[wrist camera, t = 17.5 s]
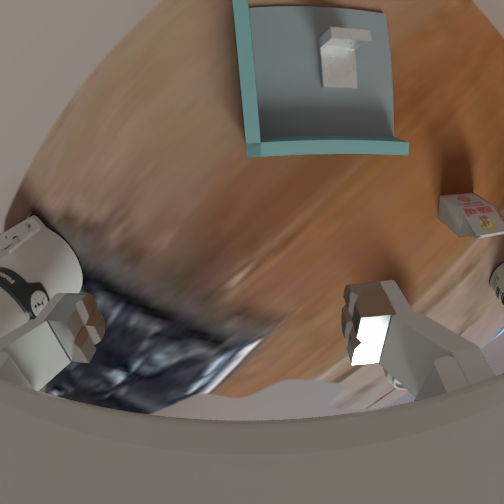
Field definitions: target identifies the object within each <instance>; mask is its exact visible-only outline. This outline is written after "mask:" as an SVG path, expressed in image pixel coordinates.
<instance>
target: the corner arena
mask: <svg viewBox="0 0 504 504" xmlns="http://www.w3.org/2000/svg"><path fill="white" fill-rule="evenodd" d="M233 11H234V21H235V31H236V42H237V52H238V63H239V74H240V84H241V95H242V106H243V117H244V128H245V138H246V149H247V158H249V157H264V156H281V155H304V154H390V155H408V153H409V142H406V141H404V140H401V139H398V138H395V137H394V111H393V83H392V67H391V55H390V45H389V36H388V28H387V20H386V14H383V13H377V12H370V11H362V10H354V9H344V8H332V7H312V6H275V7H256V8H249V5H248V0H233ZM330 27H340V28H352V29H362V30H370V31H371V39H372V41H371V42H369V43H367V44H365V45H363V46H361V47H359V48H357V49H355V59H356V71H357V87H358V88H355V89H353V88H322V86H321V72H320V60H319V49H318V39H319V38H320V37H321V36H322V35H323V34H324V33H325V32H326V31H327V30H328V29H329V28H330Z"/></svg>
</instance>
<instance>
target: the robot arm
mask: <svg viewBox="0 0 504 504" xmlns="http://www.w3.org/2000/svg"><path fill="white" fill-rule="evenodd" d="M82 281H83V277H82V271H81V267H80V264H79V261H78V259H77V257H76V255H75V254H74V252H73V250H72V249H71V247H70V246H69V245H68V244H67V243H66V242H65V240H64V239H62V238H61V237H60V236H59V235H58V234H56V233H55V232H53V231H51V230H50V229H48V228H47V227H46V226H45V225H44V224H43V223H42V221H41V220H40V219H39V218H38V217H37V216H35V215H33V216H31V217H29V218H27V219H25V220H24V221H22V222H20V223H18V224H17V225H15V226H13V227H11V228H10V229H8V230H6V231H5V232H3V233H1V234H0V504H504V373H503V374H500V375H498V376H495V374H494V372H493V370H492V369H491V367H490V365H489V364H488V362H487V360H486V358H485V356H484V355H483V353H482V351H481V350H480V348H479V347H478V346H477V345H475V344H473V343H472V342H470V341H468V340H466V339H465V338H463V337H461V336H460V335H458V334H456V333H454V332H453V331H451V330H449V329H447V328H446V327H444V326H442V325H441V324H439V323H437V322H435V321H434V320H432V319H430V318H428V317H427V316H425V315H423V314H421V313H419V312H413V310H412V308H411V307H410V305H409V303H408V302H407V300H406V298H405V297H404V295H403V293H402V292H401V290H400V288H399V287H398V285H397V284H396V282H395V281H394V280H386V281H378V282H372V283H362V284H351V285H346V286H345V290H344V299H345V302H346V305H345V306H344V307H343V308H342V317H341V318H342V331H343V335H344V338H345V339H346V340H348V347H347V350H348V353H349V357H350V361H351V364H352V365H357V364H367V363H375V362H379V364H380V365H381V366H382V367H383V368H384V369H385V370H386V371H388V372H389V373H390V374H391V375H392V376H393V377H394V378H395V379H396V380H397V381H398V382H399V383H400V384H402V385H403V386H404V387H405V388H406V389H407V390H408V391H409V392H410V393H411V394H412V395H413V396H415V397H416V398H415V400H414V402H409V403H405V404H400V405H395V406H391V407H385V408H380V409H375V410H369V411H363V412H356V413H349V414H342V415H334V416H325V417H315V418H303V419H289V420H265V421H221V420H198V419H184V418H173V417H164V416H155V415H147V414H140V413H133V412H127V411H121V410H115V409H109V408H104V407H99V406H94V405H90V404H85V403H81V402H76V401H72V400H68V399H64V398H60V397H57V396H53V395H49V394H46V393H43V392H39V390H40V389H41V388H42V387H43V386H45V385H46V384H47V383H48V382H49V381H50V380H51V379H52V378H53V377H54V376H56V375H57V374H58V373H59V372H60V371H61V370H62V369H63V368H64V367H66V366H67V365H68V364H69V363H70V361H75V362H84V363H89V362H90V360H91V358H92V356H93V355H94V353H95V351H96V346H95V344H97V343H98V342H100V341H101V340H102V338H103V336H104V331H105V323H104V319H103V317H102V314H101V313H99V312H98V311H97V310H96V306H97V303H96V301H95V299H94V297H93V296H92V295H90V294H80V293H79V292H80V290H81V287H82Z"/></svg>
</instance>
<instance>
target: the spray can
mask: <svg viewBox="0 0 504 504" xmlns="http://www.w3.org/2000/svg"><path fill="white" fill-rule="evenodd" d="M490 288H491V290H492V292H493V293H494V294H495V295H496V296H497V297H498V299H499V300H500V301H501V302H502V303H503V305H504V263H502V264H501V265H499V266H498V267H497V268H496V269H495V270H494V272H493V274H492V276H491V279H490Z"/></svg>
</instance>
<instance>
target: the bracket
mask: <svg viewBox="0 0 504 504" xmlns="http://www.w3.org/2000/svg"><path fill="white" fill-rule="evenodd" d="M371 41H372V39H371V31H370V30H362V29H352V28H340V27H330V28H329V29H328V30H327V31H326V32H325V33H324V34H323V35H322V36H321V37H320V38H319V39H318V49H319V60H320V72H321V86H322V88H353V89H355V88H358V87H357V71H356V59H355V49H357V48H359V47H361V46H363V45H365V44H367V43H369V42H371Z"/></svg>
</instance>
